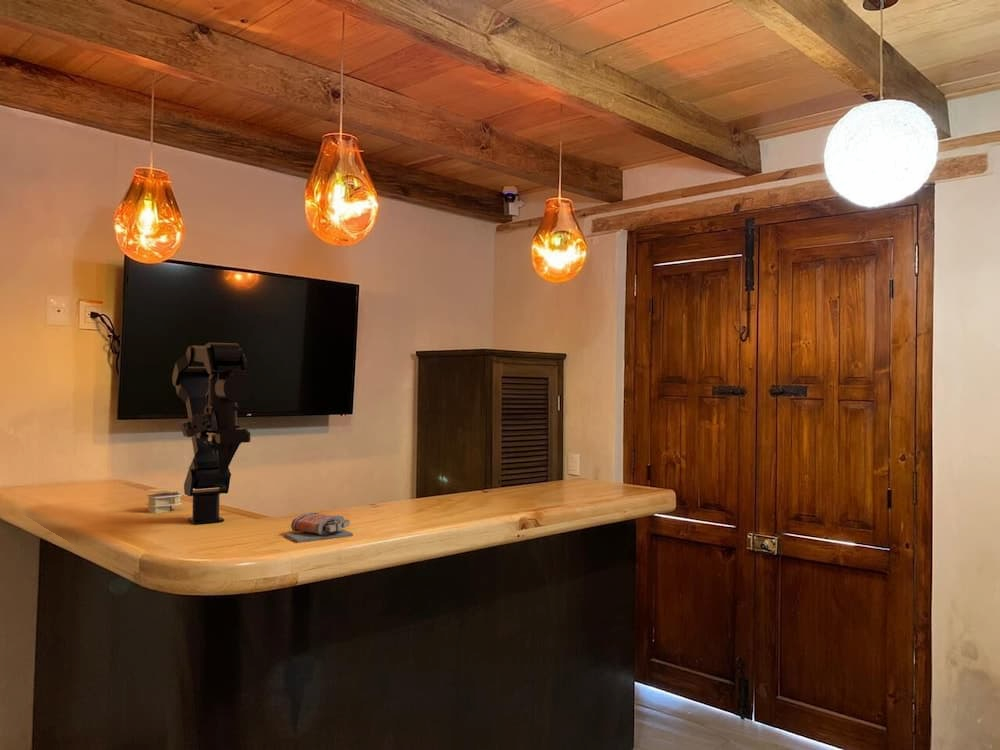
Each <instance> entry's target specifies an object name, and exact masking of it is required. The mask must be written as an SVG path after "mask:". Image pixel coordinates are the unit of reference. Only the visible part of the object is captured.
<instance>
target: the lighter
mask: <svg viewBox="0 0 1000 750" xmlns="http://www.w3.org/2000/svg"><path fill="white" fill-rule="evenodd" d="M350 525H351V521H350V519H345V517H344V516H343V515H337V514H336V515H331V514H322V513H321V514H320V513H319V512H314V511H313V512H306V513H303V514H300V515H298V516H297V517H295V518H294V519H292V521H291V524H290V528H291V530H292V531H293V532H295V533H298V532H311V533H317V534H318V535H327V534H331V533H334V532H336V531H340V530H341V529H344V528H347V527H349V526H350Z"/></svg>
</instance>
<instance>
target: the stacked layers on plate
mask: <svg viewBox="0 0 1000 750" xmlns="http://www.w3.org/2000/svg"><path fill="white" fill-rule="evenodd" d="M182 489H183V488H181V487H160V488H153V489H147V490H146V491H149V492H153V493H155V492H158V493H155V494H149V495H146V497H147V498H148V503H146V506H148V511H147V512H148V513H152V514H160V513H166V512H170V511H171V510H172V509H173V506H179V505H182V504H183V503H182V501H181V496H182V495H183V493H179V492H178V491H179V490H182ZM170 491H171V492H170ZM172 491H173V492H172ZM159 492H161V493H159Z"/></svg>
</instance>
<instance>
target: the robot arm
mask: <svg viewBox="0 0 1000 750" xmlns="http://www.w3.org/2000/svg"><path fill="white" fill-rule="evenodd" d="M192 363H194V364H195V363H196V364H203V366H191V365H192ZM248 369H249V364H248V362H247V358H246V356H245V353H244V350H243V349H242V348H241V346H240V344H239V343H233V342H232V343H227V342H208V343H206V344H204V345H191V346H188V347H187V350H186V353H185V354H184V355H183V356H181V357H180V358H178V360H177V361H176V362H175V364H174V368H173V372H172V385H173V386H174V388H175V391H176V395H177V396H178V397H179V398H180V399H181V400H182V401H183V402H184V403H185V406H186V411H187V417H188V418H186V419H184V420H181V421H179V422H178V424H179V426H180V429H181V432H182V435H183V437H186V438H191V442H192V448H193V455H194V456H193V458H192V461H191V463H190V465H189V467H188V471H187V474H186V478H185V480H184V484H183V492H184V495H186V496H188V497H192V514H191V515H192V516H191V517H189V516H188V517H187V520H188V522H191V523H192V524H193V525H194V524H195V525H199V524H201V525H202V524H210V523H218V522H219V523H220V522H224V521H225V518H223V517H221V516H220V496H221V495H220V494H229V489H230V484H231V483H230V481H231V477H232V473H231V471H230V467H229V466H230V465H231V462H232V460H233V458H234V456H235V454H236V453H237V450H238V448H239V446H240V445H241V444H243V443H251V432H250V431H249V430H248V429H247V428H242V427H241V426H240V425H239V424H237V423H238V420H237V419H238V418H237V417H238V413H237V412H240V410H241V409H240V407H241V406H239V405H238V403H243V402H244V401H246V400H247V399H248V398H249V397H250V396H251V393H252V391H253V388H252V384H251V381H250V379H249V378H247V376H244V375H248ZM207 395H208V399H207ZM207 400H208V401H207Z"/></svg>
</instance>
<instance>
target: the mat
mask: <svg viewBox="0 0 1000 750" xmlns="http://www.w3.org/2000/svg"><path fill="white" fill-rule="evenodd" d="M285 536H286V537H285ZM351 536H352V537H353V536H354V533H353V532H351V531H349V530H346V529H344V528H341V530H340V531H336V532H334V533H331V534H327V535H318V534H317V533H311V532H303V531H300V532H292V533H291V532H290V533H285V534H284V537H285V538H287V537H288V538H287V539H289V538H290V539H289V540H291V539H292V540H291V541H293V542H295V543H306V542H314V541H321V540H328V539H337V538H339V539H340V538H346V537H351Z"/></svg>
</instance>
